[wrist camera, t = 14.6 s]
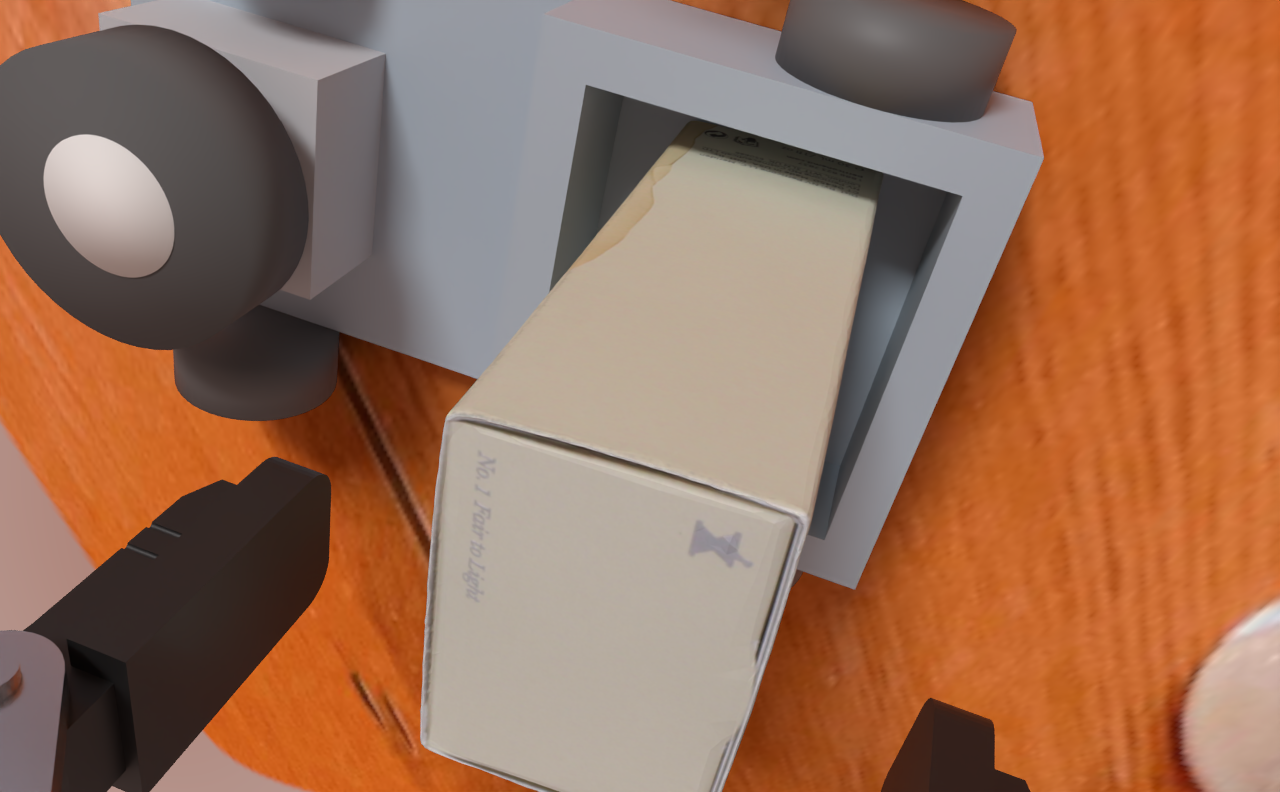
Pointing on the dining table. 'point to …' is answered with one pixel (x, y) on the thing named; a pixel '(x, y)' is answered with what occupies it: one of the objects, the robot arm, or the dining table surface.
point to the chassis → (611, 185)
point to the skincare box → (645, 476)
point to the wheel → (147, 184)
